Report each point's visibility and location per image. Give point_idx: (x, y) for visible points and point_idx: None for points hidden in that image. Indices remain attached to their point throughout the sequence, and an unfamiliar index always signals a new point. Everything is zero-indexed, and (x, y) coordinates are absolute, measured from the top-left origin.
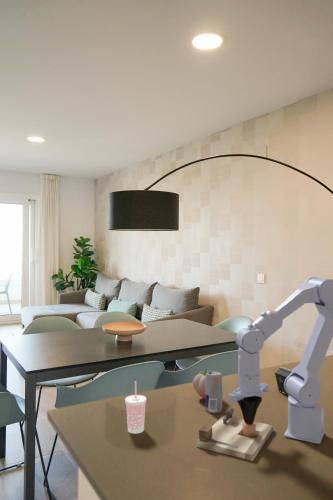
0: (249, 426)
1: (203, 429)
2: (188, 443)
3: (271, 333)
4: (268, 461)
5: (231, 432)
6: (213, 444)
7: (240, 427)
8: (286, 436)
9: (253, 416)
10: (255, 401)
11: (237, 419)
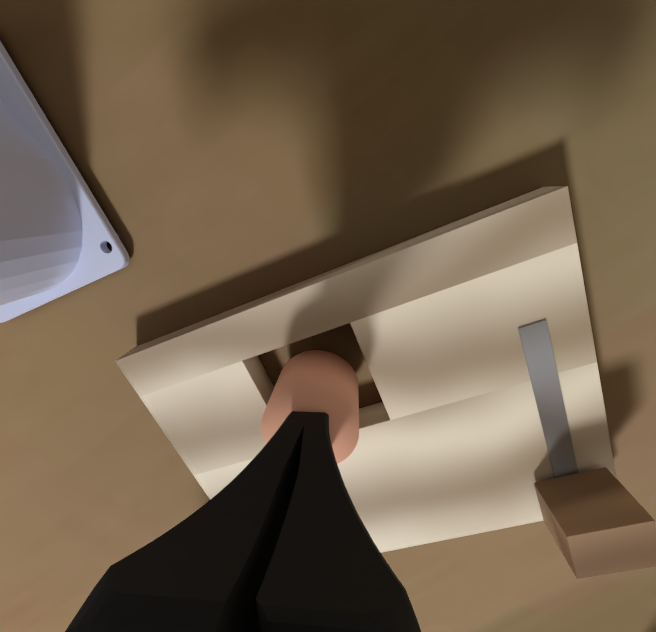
0: (346, 402)
1: (636, 552)
2: None
3: None
4: (472, 113)
5: (390, 453)
6: (601, 431)
7: None
8: (122, 245)
9: (291, 446)
10: (284, 618)
11: None
